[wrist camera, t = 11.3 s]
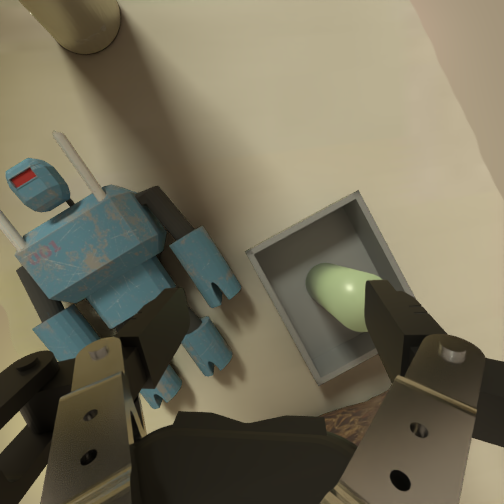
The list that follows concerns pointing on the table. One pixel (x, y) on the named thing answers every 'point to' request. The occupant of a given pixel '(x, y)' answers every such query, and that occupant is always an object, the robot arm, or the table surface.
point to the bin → (311, 254)
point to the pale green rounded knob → (340, 292)
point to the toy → (111, 263)
